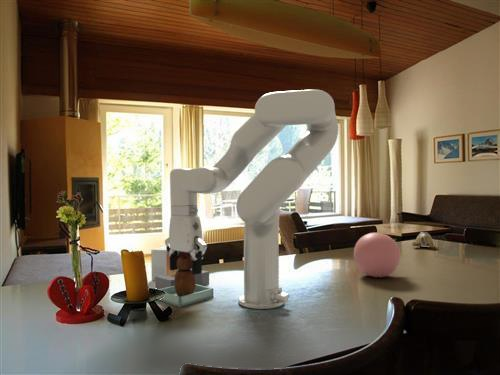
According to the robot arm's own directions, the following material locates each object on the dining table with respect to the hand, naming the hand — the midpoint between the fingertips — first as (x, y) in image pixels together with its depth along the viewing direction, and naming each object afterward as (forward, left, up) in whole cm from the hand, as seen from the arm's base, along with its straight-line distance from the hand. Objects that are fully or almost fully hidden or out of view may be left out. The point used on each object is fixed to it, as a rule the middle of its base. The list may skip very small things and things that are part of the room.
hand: (185, 271), depth 113 cm
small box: (+25, -11, -8) cm, 28 cm away
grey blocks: (+11, -8, -8) cm, 15 cm away
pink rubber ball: (-31, -62, -8) cm, 70 cm away
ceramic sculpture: (-23, -135, -8) cm, 137 cm away
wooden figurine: (0, 0, -7) cm, 7 cm away
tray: (0, 0, -8) cm, 8 cm away
